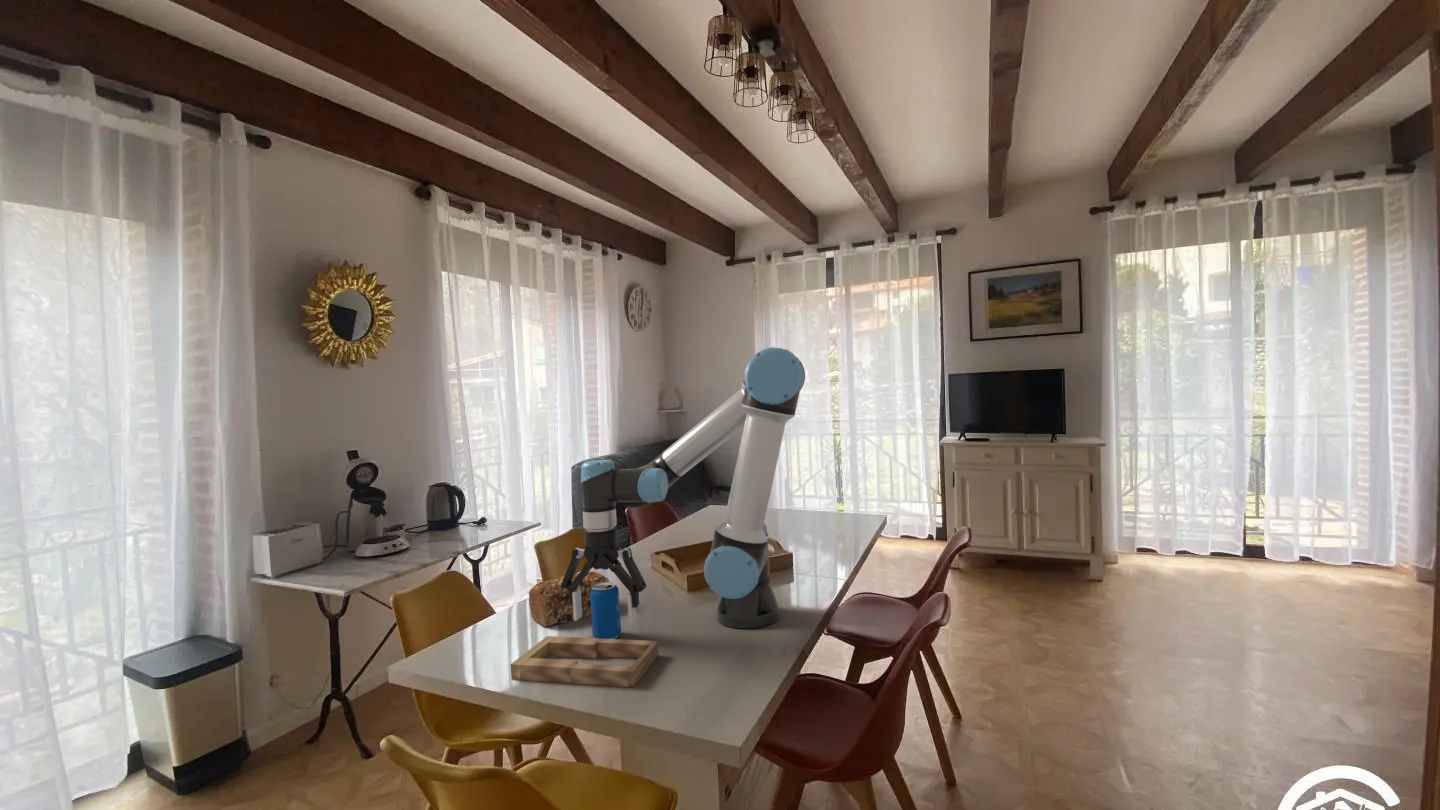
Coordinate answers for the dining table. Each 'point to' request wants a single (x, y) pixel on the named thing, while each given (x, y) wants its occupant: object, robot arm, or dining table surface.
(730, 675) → the dining table surface
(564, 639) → the wooden rectangular frame
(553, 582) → the bread
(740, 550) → the robot arm
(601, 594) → the beverage can
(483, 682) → the dining table surface
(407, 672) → the dining table surface
